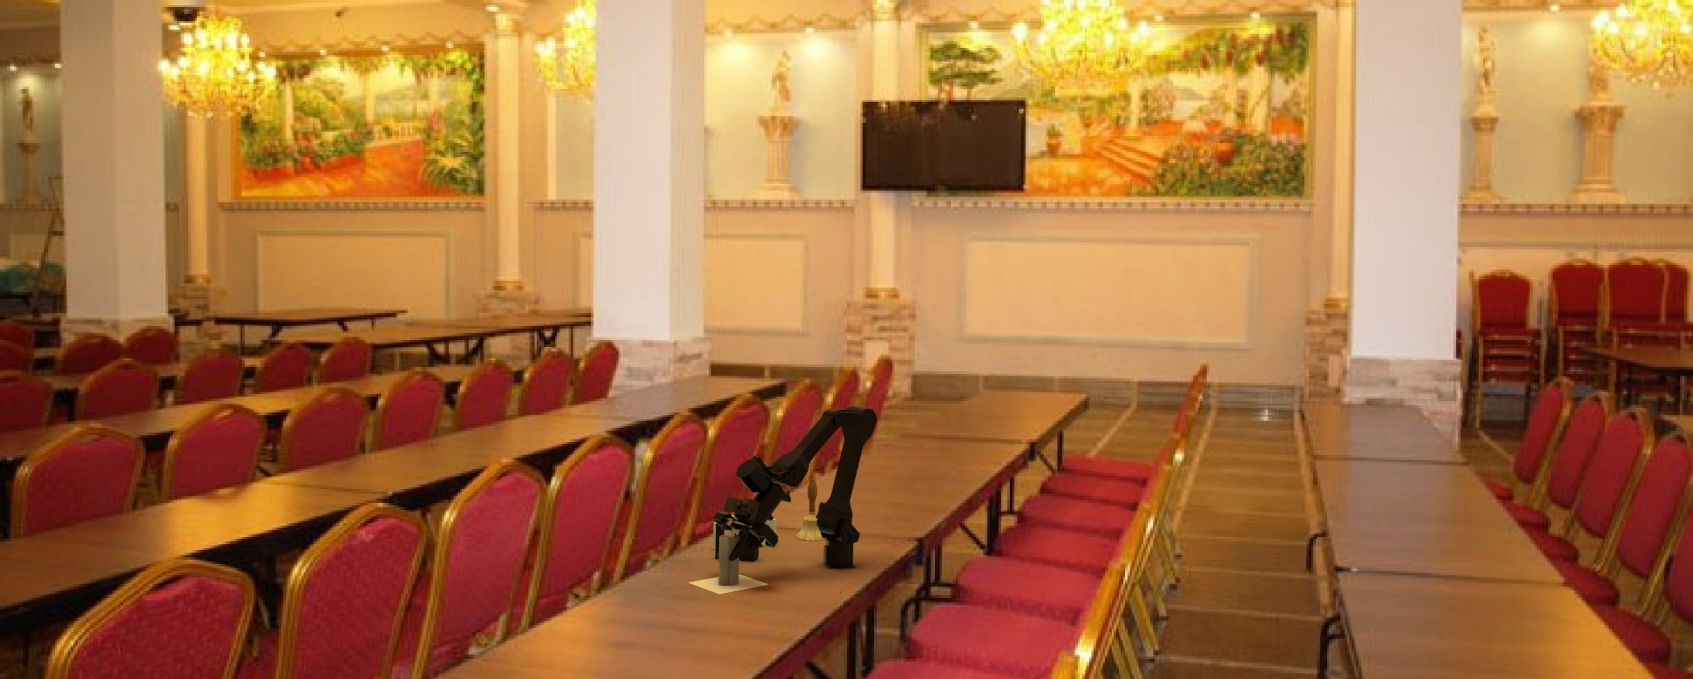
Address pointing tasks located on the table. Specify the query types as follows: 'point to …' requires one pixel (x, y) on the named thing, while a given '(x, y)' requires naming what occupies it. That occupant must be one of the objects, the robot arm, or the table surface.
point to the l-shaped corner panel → (770, 523)
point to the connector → (727, 567)
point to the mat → (715, 587)
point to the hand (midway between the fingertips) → (724, 558)
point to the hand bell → (810, 517)
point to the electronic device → (747, 557)
